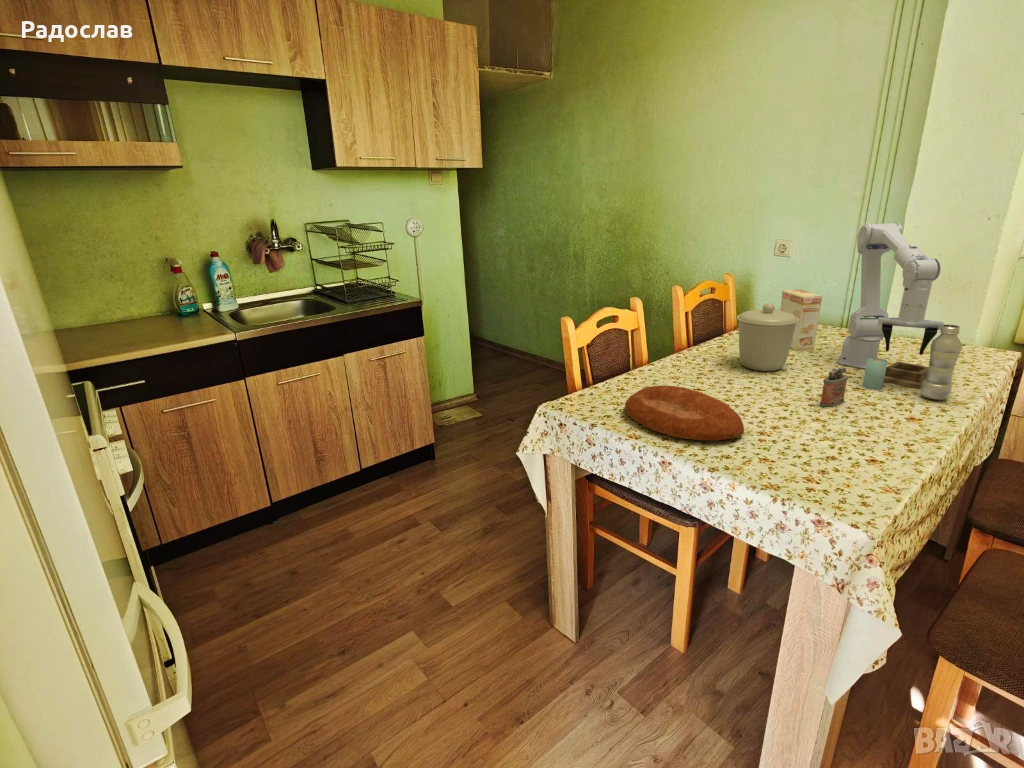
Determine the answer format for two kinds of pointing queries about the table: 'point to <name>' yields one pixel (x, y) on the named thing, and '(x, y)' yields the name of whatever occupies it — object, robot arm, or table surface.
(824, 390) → the lighter
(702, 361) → the table surface
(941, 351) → the plastic bottle
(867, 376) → the roll
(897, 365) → the brown piece
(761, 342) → the canister
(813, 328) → the coffeecake box
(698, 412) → the bread
